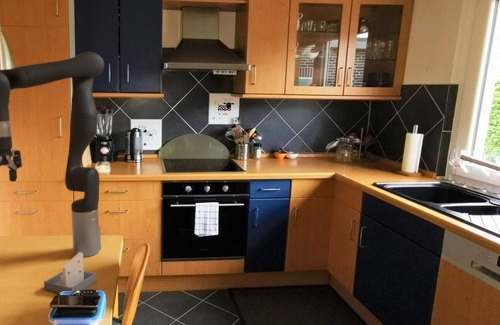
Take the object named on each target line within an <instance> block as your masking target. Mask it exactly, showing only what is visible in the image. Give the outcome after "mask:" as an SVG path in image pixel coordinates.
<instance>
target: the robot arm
mask: <svg viewBox="0 0 500 325" xmlns="http://www.w3.org/2000/svg"><path fill="white" fill-rule="evenodd" d="M104 70H105V61H104V59H103V57H102V56H101V55H99V54H98V52H97V53H96V52H94V51H84V52H82V53H78V54H77V55H75V56H73V57H70V58H67V59H66V58H65V59H62V60H57V61H47V62H42V63H34V64H29V65H27V64H26V65H23V66H22V65H21V66H17V67H13V68H8V69H7V68H5V69H0V167H2V166H6V167H7V168H8V177H9V178H8V179H9V182H16V181H17V178H18V174H17V173H18V172H17V171H18V169H20V168H22V166H23V164H22V155H21V150H17V149H13V139H12V136H13V135H12V127H11V126H12V125H11V121H10V109H9V105H10V99H11V98H10V96H11V90H16V89H27V88H34V87H38V86H43V85H46V84H47V85H48V84H51V83H54V82H58V81H63V80H65V79H66V80H67V79H71V84H72V85H71V86H72V87H71V88H72V89H71V90H72V93H71V105H70V106H71V107H70V108H71V109H70V118H69V119H70V120H69V143H68V155H67V163H66V168H65V174H64V175H65V177H64V178H65V179H64V182H65V187H66V189H67V190H68V191H69V192H78V193H79V192H80V193H84V195H83V197H82V198H80V199H79V198H78V199H76V200H74V201H73V202H71V226H72V228H71V229H72V250H73V252H72V253H73V255H74V256H76V255H77V254H78V253H79V252H82V253H83V258H86V257H92V256H95V255H97V254H98V253H99V252H100V250H102V243H101V242H102V240H101V239H102V238H101V226H100V225H99V202H100V201H99V200H100V172H99V171H98V170H97V169H96V167H86V166H82V161H83V156H84V153H85V151H86V150H87V148H88V147H89V145H90V144H91V143H92V141H93V140H94V138H95V137H96V134H97V130H98V111H97V106H96V103H95V99H94V96H93V86H94V79H95V78H96V77H99V76H100V75H101V74H102V73H103V71H104Z"/></svg>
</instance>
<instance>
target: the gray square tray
mask: <svg viewBox="0 0 500 325" xmlns="http://www.w3.org/2000/svg"><path fill="white" fill-rule="evenodd" d="M61 275H63V271H62V272H61V271H60V272H59V273H57V274H55V275H53V276H52V277H49V278H48V279H46V280H45V281H43V288H44V291H45V292H48V293H52V294H55V295H60V294H59V293H60V292H62V291H75V290H83V291H85V290H87V289H88V288H90V287H91V286H93V285H94V284H96V283H97V280H98V279H97V273H95V272H90V271H86V270H84V280H83V281H81V282H79V283H78V284H76V285H75V286H73V287H69V286H65V285H61V280H60V276H61Z"/></svg>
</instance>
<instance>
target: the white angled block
mask: <svg viewBox="0 0 500 325" xmlns="http://www.w3.org/2000/svg"><path fill="white" fill-rule="evenodd" d="M84 271H85V270H84V257H83V253H82V252H79V253H78V254H77V255H76V256H75V255H74V256H73V257H72V259H70V260H68V261H67V263H66V264H64V265H63V266H62V272H63V275H61V276H60V280H61V285H65V286H69V287H73V286H75V285H76V284H78V283H79V282H81V281H83V280H84Z"/></svg>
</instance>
